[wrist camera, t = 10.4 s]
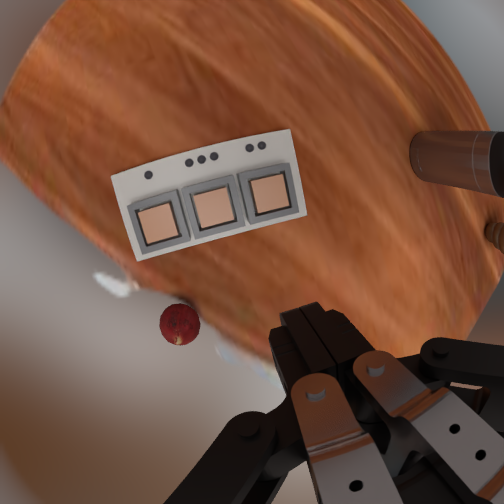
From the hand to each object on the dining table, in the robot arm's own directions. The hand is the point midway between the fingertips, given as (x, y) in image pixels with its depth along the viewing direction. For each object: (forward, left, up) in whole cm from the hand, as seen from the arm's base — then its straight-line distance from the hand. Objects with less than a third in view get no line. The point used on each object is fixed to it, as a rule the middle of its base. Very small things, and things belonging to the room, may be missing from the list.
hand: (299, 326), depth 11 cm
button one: (+9, -2, -26) cm, 28 cm away
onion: (+11, +13, -29) cm, 34 cm away
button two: (-5, -2, -26) cm, 27 cm away
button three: (+2, -1, -26) cm, 26 cm away
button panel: (+2, -3, -29) cm, 29 cm away
